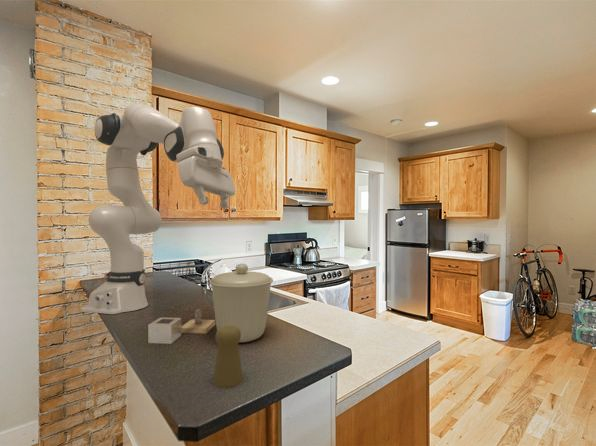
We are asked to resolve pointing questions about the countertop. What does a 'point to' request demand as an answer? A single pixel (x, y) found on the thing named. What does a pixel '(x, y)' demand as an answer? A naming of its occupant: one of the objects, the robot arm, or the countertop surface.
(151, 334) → the white hollow square block
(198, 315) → the base plate
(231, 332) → the olive pepper mill
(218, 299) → the canister
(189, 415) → the countertop surface
